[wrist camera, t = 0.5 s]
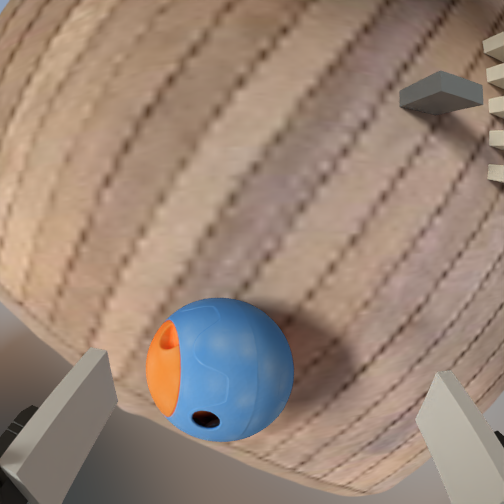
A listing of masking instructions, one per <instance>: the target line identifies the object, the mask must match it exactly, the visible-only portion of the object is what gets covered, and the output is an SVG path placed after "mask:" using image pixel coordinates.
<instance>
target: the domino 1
mask: <svg viewBox="0 0 504 504" xmlns="http://www.w3.org/2000/svg"><path fill="white" fill-rule="evenodd" d="M480 105H483V89H482V85H480V84H478V83H475V82H472V81H470V80H467V79H464V78H461V77H458V76H455V75H452V74H449V73H446V72H443V71H439V72H436V73H434V74H432V75H430V76H428V77H426V78H424V79H422V80H420V81H418V82H416V83H414V84H412V85H410V86H408V87H406V88H404V89H402V90H401V91H400V107H402V108H407V109H412V110H416V111H421V112H425V113H429V114H433V115H439V114H443V113H447V112H452V111H456V110H461V109H465V108H470V107H475V106H480Z"/></svg>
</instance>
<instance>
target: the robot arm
mask: <svg viewBox="0 0 504 504" xmlns="http://www.w3.org/2000/svg"><path fill="white" fill-rule="evenodd" d="M117 402H118V399H117V395H116V391H115V387H114V382H113V378H112V373H111V368H110V364H109V359H108V353H107V351H106V350H102V349H97V348H93V347H90V349H89V350H88V351H87V352H86V353H85V354H84V355H83V357H82V358H81V359H80V360H79V361H78V362H77V364H76V365H75V366H74V367H73V368H72V369H71V371H70V372H69V373H68V374H67V375H66V376H65V378H64V379H63V380H62V381H61V382H60V383H59V385H58V386H57V387H56V388H55V389H54V391H53V392H52V393H51V394H50V396H49V397H48V398H47V399H46V400H45V402H44V403H43V404H42V405H41V407H40V408H38V407H35V406H33V405H32V406H30V407H28V408H26V409H25V410H23V411H21V413H20V414H19V415H18V416H17V417H16V418H15V419H14V421H13V423H11V424H10V426H9V427H8V429H7V430H6V431H5V432H4V433H3V434H2V435H1V437H0V504H27V502H29V503H30V504H61V503H62V501H63V499H64V497H65V495H66V493H67V492H68V490H69V488H70V486H71V484H72V482H73V481H74V479H75V477H76V475H77V473H78V471H79V469H80V468H81V466H82V464H83V462H84V460H85V459H86V457H87V455H88V453H89V451H90V449H91V448H92V446H93V444H94V442H95V441H96V438H97V437H98V435H99V434H100V432H101V430H102V428H103V427H104V425H105V423H106V421H107V419H108V418H109V416H110V414H111V413H112V411H113V409H114V408H115V406H116V404H117ZM415 420H416V423H417V425H418V427H419V429H420V431H421V433H422V435H423V438H424V440H425V442H426V444H427V447H428V449H429V451H430V453H431V456H432V458H433V460H434V463H435V465H436V467H437V470H438V472H439V474H440V477H441V479H442V481H443V484H444V486H445V488H446V491H447V494H448V496H449V499H450V501H451V504H504V436H503V435H502V434H501V433H500V432H499V431H495V432H493V430H492V429H491V427H490V426H489V424H488V423H487V421H486V420H485V418H484V417H483V415H482V414H481V412H480V411H479V409H478V408H477V406H476V405H475V403H474V402H473V400H472V399H471V398H470V396H469V395H468V393H467V392H466V390H465V389H464V388H463V386H462V385H461V383H460V382H459V381H458V379H457V378H456V377H455V375H454V374H453V372H452V371H451V370H450V371H440V372H437V373H436V375H435V377H434V380H433V382H432V384H431V387H430V389H429V391H428V393H427V396H426V398H425V400H424V402H423V404H422V406H421V408H420V411H419V413H418V415H417V417H416V419H415Z"/></svg>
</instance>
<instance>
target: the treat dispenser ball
mask: <svg viewBox="0 0 504 504" xmlns="http://www.w3.org/2000/svg"><path fill="white" fill-rule="evenodd" d="M146 378H147V383H148V387H149V390H150V393H151V396H152V398H153V400H154V402H155V404H156V405H157V407H158V408H159V410H160V411H161V412H162V413H163V415H164V416H165V417H166V418H167V419H168V420H169V421H170V422H171V423H172V424H173V425H174V426H176V427H177V428H178V429H180V430H182V431H183V432H185V433H187V434H189V435H191V436H194V437H197V438H200V439H204V440H208V441H218V442H228V441H235V440H240V439H244V438H247V437H250V436H252V435H254V434H256V433H258V432H259V431H261V430H263V429H264V428H266V427H267V426H268V425H270V424H271V423H272V422H273V421H274V420H275V419H276V418H277V417H278V416H279V414H280V413H281V412H282V410H283V409H284V407H285V405H286V403H287V401H288V398H289V396H290V393H291V390H292V386H293V379H294V366H293V358H292V354H291V350H290V347H289V344H288V342H287V340H286V338H285V336H284V334H283V332H282V331H281V329H280V328H279V327H278V325H277V324H276V323H275V322H274V321H273V320H272V319H271V318H270V317H269V316H268V315H266V314H265V313H264V312H263V311H261V310H260V309H258V308H256V307H254V306H252V305H250V304H248V303H246V302H243V301H239V300H235V299H229V298H209V299H203V300H199V301H196V302H193V303H190V304H188V305H186V306H184V307H182V308H181V309H179V310H178V311H176V312H175V313H173V314H172V315H171V316H170V317H169V318H168V319H167V320H166V321H165V322H164V323H163V324H162V325H161V327H160V328H159V330H158V331H157V333H156V334H155V336H154V338H153V340H152V342H151V345H150V347H149V351H148V354H147V360H146Z"/></svg>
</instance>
